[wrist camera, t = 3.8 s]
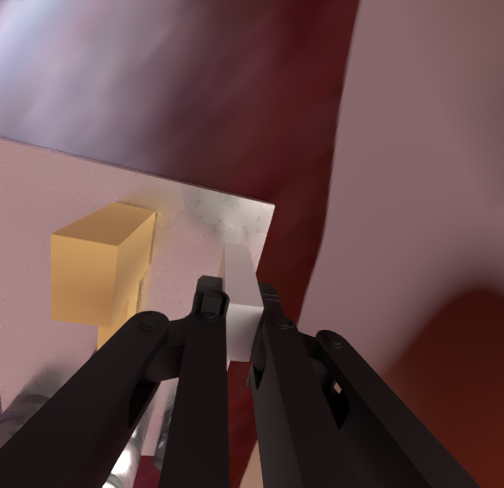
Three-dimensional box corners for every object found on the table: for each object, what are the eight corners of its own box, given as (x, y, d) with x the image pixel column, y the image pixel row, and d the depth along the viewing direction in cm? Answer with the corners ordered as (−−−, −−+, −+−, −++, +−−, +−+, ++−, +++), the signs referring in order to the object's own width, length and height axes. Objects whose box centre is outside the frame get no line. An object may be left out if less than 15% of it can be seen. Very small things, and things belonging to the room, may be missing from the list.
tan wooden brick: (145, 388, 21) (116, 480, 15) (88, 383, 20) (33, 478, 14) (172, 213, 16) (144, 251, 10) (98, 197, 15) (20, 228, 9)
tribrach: (-11, 134, 14) (-228, 121, 7) (272, 202, 17) (304, 238, 11) (15, 437, 23) (-77, 564, 16) (202, 446, 26) (195, 554, 19)
